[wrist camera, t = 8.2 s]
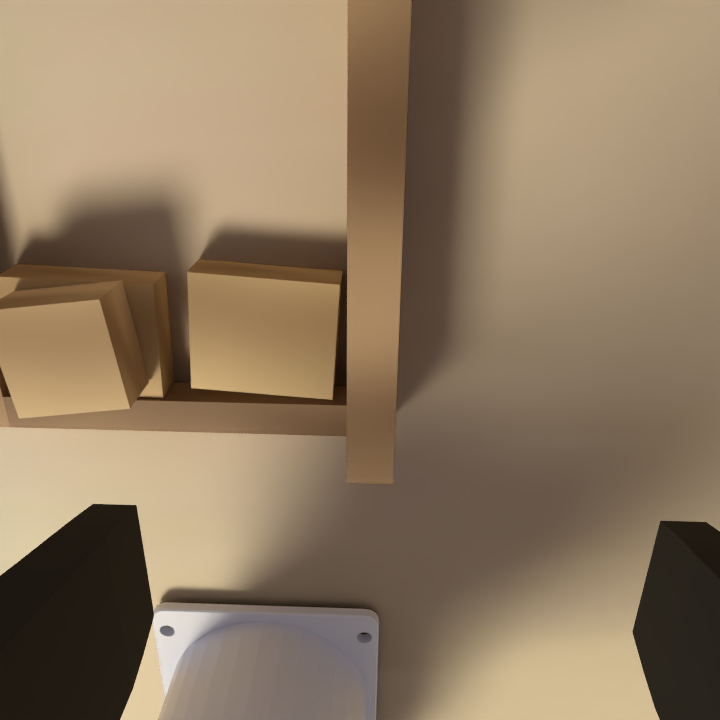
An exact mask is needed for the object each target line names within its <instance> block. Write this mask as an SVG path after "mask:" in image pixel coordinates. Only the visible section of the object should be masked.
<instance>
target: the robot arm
mask: <svg viewBox="0 0 720 720" xmlns="http://www.w3.org/2000/svg"><path fill="white" fill-rule="evenodd" d="M152 623H153V629H154V635H155V641H156V647H157V653H158V660H159V666H160V672H161V678H162V684H163V690H164V696H165V700H164V703H163V706H162V709H161V712H160V715H159V718H158V720H376V706H377V673H378V641H379V618H378V615H377V614H376V613H375V612H373V611H372V610H368V609H353V608H323V607H293V606H262V605H232V604H202V603H172V602H166V603H161V604H159V605H157V606H156V608H155V610H154V612H153V606H152V599H151V593H150V587H149V581H148V575H147V568H146V562H145V556H144V550H143V544H142V537H141V531H140V525H139V519H138V513H137V506H136V505H108V504H93V505H91V506H90V507H88V508H87V509H86V510H84V511H83V512H82V513H80V514H79V515H78V516H76V517H75V518H74V519H72V520H71V521H70V522H68V523H67V524H66V525H65V526H63V527H62V528H61V529H59V530H58V531H57V532H56V533H54V534H53V535H52V536H51V537H49V538H48V539H47V540H45V541H44V542H43V543H42V544H40V545H39V546H38V547H37V548H35V549H34V550H33V551H32V552H30V553H29V554H28V555H26V556H25V557H24V558H23V559H21V560H20V561H19V562H18V563H16V564H15V565H14V566H12V567H11V568H10V569H8V570H7V571H6V572H5V573H3V574H2V575H1V576H0V720H120V718H121V716H122V713H123V711H124V709H125V706H126V704H127V701H128V699H129V696H130V694H131V692H132V689H133V686H134V683H135V680H136V677H137V673H138V670H139V667H140V664H141V660H142V657H143V654H144V650H145V647H146V643H147V639H148V636H149V632H150V629H151V625H152ZM166 625H167V626H170V627H172V628H170V627H167V626H166ZM362 632H366V633H369V634H361V633H362ZM633 635H634V639H635V642H636V646H637V649H638V653H639V657H640V660H641V664H642V667H643V671H644V674H645V677H646V681H647V684H648V687H649V690H650V693H651V697H652V700H653V703H654V706H655V709H656V711H657V714H658V716H659V718H660V720H720V532H719V531H718V530H717V529H715V528H714V527H712V526H711V525H709V524H708V523H706V522H682V521H660V525H659V529H658V533H657V537H656V541H655V545H654V549H653V553H652V557H651V561H650V565H649V568H648V572H647V576H646V580H645V584H644V588H643V592H642V596H641V600H640V604H639V608H638V612H637V616H636V620H635V624H634V628H633Z"/></svg>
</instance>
